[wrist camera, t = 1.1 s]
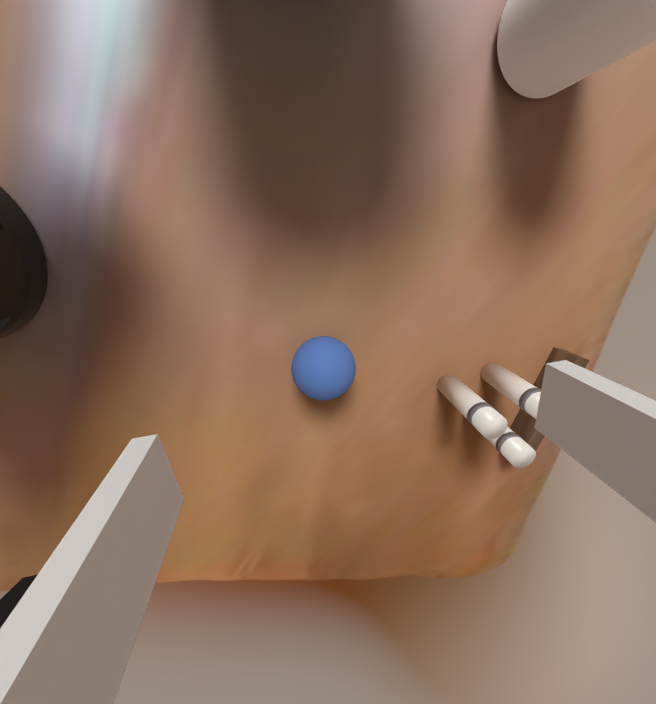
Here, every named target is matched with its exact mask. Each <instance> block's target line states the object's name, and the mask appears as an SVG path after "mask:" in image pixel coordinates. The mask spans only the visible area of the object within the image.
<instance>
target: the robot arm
mask: <svg viewBox="0 0 656 704" xmlns="http://www.w3.org/2000/svg"><path fill="white" fill-rule="evenodd" d="M46 283H47V272H46V263H45V258H44V254H43V251H42V247H41V245H40V242H39V240H38V237H37V235H36V233H35V231H34V229H33V227H32V226H31V224H30V222H29V221H28V219H27V217H26V216H25V215H24V213H23V212H22V210H21V209H20V208H19V207H18V205H17V204H16V203H15V202H14V201H13V199H12V198H11V197H10V196H9V195H8V194H7V193H6V192H5V191H4V190H3V189H2V188H1V187H0V337H3V336H6V335H8V334H11V333H13V332H15V331H17V330H18V329H20V328H21V327H23V326H24V325H25V324H26V323H27V322H29V321H30V320H31V318H32V317H33V316H34V315H35V314H36V312H37V311H38V309H39V307H40V305H41V303H42V301H43V298H44V295H45V290H46ZM534 428H535V429H536V430H538V431H539V432H540V433H541V434H543V435H544V436H545V437H547V438H548V439H549V440H550V441H552V442H553V443H554V444H556V445H557V446H558V447H559V448H561V449H562V450H563V451H565V452H566V453H567V454H568V455H570V456H571V457H572V458H574V459H575V460H576V461H577V462H579V463H580V464H581V465H583V466H584V467H585V468H586V469H588V470H589V471H590V472H591V473H593V474H594V475H595V476H597V477H598V478H599V479H600V480H602V481H603V482H604V483H606V484H607V485H608V486H610V487H611V488H612V489H613V490H615V491H616V492H617V493H619V494H620V495H621V496H622V497H624V498H625V499H626V500H627V501H629V502H630V503H631V504H632V505H634V506H635V507H636V508H638V509H639V510H640V511H641V512H643V513H644V514H645V515H647V516H648V517H649V518H651V519H652V520H653V521H654V522H656V401H655V400H652V399H650V398H648V397H645V396H644V395H641V394H639V393H637V392H635V391H633V390H631V389H628V388H626V387H624V386H622V385H619V384H617V383H615V382H613V381H611V380H609V379H606V378H604V377H602V376H600V375H598V374H596V373H593V372H591V371H589V370H587V369H585V368H583V367H580V366H578V365H576V364H574V363H572V362H569V361H567V360H563V361H557V362H552V363H546V367H545V372H544V378H543V383H542V389H541V394H540V400H539V405H538V411H537V416H536V422H535V427H534ZM183 501H184V497H183V495H182V492H181V490H180V488H179V485H178V483H177V480H176V478H175V475H174V473H173V470H172V468H171V466H170V463H169V461H168V458H167V456H166V453H165V451H164V448H163V446H162V443H161V441H160V439H159V436H158V434H155V435H150V436H144V437H139V438H133V439H131V441H130V442H129V444H128V445H127V446H126V448H125V449H124V451H123V452H122V454H121V455H120V457H119V458H118V459H117V461H116V462H115V464H114V465H113V467H112V468H111V470H110V471H109V472H108V474H107V475H106V477H105V478H104V480H103V481H102V483H101V484H100V485H99V487H98V488H97V490H96V491H95V493H94V494H93V496H92V497H91V498H90V500H89V501H88V503H87V504H86V506H85V507H84V509H83V510H82V511H81V513H80V514H79V516H78V517H77V519H76V520H75V522H74V523H73V524H72V526H71V527H70V529H69V530H68V532H67V533H66V535H65V536H64V537H63V539H62V540H61V542H60V543H59V545H58V546H57V548H56V549H55V550H54V552H53V553H52V555H51V556H50V558H49V559H48V561H47V562H46V563H45V565H44V566H43V568H42V569H41V571H40V572H39V574H38V575H34V576H30V577H25V578H22V579H21V580H20V581H19V582H18V583H17V584H16V585H15V586H14V587H13V588H12V589H11V590H10V591H9V592H8V593H7V594H6V595H5V596H4V597H3V598H1V600H0V704H113V703H114V700H115V698H116V695H117V692H118V689H119V686H120V683H121V680H122V677H123V674H124V671H125V669H126V666H127V663H128V660H129V657H130V654H131V651H132V648H133V645H134V643H135V640H136V637H137V634H138V631H139V628H140V625H141V622H142V619H143V617H144V614H145V611H146V608H147V605H148V602H149V599H150V596H151V593H152V591H153V587H154V585H155V582H156V579H157V576H158V573H159V570H160V567H161V564H162V562H163V559H164V556H165V553H166V550H167V547H168V544H169V541H170V538H171V536H172V533H173V530H174V527H175V524H176V521H177V518H178V515H179V512H180V510H181V507H182V504H183Z"/></svg>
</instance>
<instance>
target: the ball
mask: <svg viewBox="0 0 656 704" xmlns="http://www.w3.org/2000/svg"><path fill="white" fill-rule="evenodd" d="M291 370H292V376H293V380H294V382H295V384H296V386H297V387H298V388H299V390H300V391H301V392H302V393H304V394H305V395H306V396H308V397H310V398H313V399H316V400H331V399H335V398H337V397H339V396H341V395H342V394H343V393H345V392H346V391H347V390H348V388H349V387H350V386H351V384H352V382H353V380H354V376H355V371H356V370H355V360H354V357H353V355H352V353H351V351H350V350H349V348H348V347H347V346H346V345H345V344H344V343H342V342H341V341H339V340H337V339H335V338H332V337H327V336H321V337H315V338H312V339H310V340H308V341H306V342H305V343H303V344H302V345H301V346H300V347H299V348H298V350H297V351H296V353H295V355H294V357H293V360H292V368H291Z"/></svg>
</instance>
